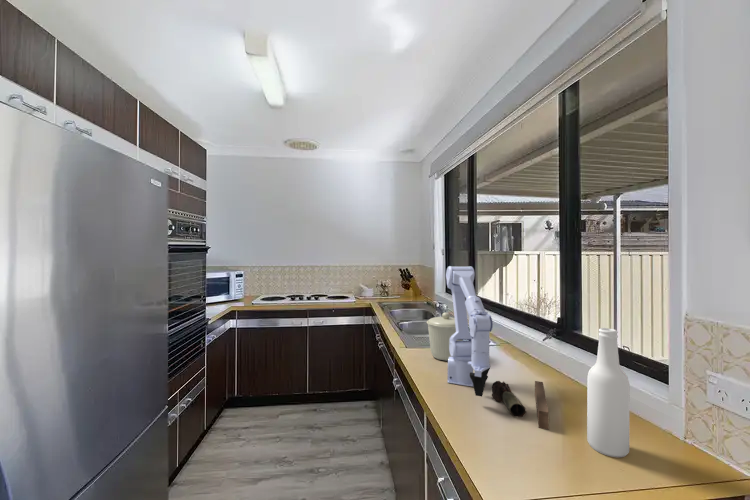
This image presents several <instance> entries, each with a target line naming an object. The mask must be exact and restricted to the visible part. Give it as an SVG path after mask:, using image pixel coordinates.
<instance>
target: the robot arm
mask: <svg viewBox="0 0 750 500" xmlns="http://www.w3.org/2000/svg"><path fill="white" fill-rule="evenodd" d="M475 275H476V274H475V269H474V267H473V266H470V265H469V266H451V265H449V266H447V268H446V272H445V278H446V286H447V289H449V290H450V291H451V295H452V304H453V306H452V307H453V314H454V317H453V318H455V327H456V332H455V333H454V334H453V335H452V336H451V337H450V339H449V340H450V344H449V351H450V355H451V356H452V357H449V359H448V361H447V381H446V383H448V384H452V385H453V384H454V385H460V386H466V387H467V386H468V387H473V389H474V395H475V396H477V397H480V398H482V397H483V394H484V390H485V387H486V383H487V381H488V379H489V374H488V373H489V371H490V369H491V364H490V332H492V330H493V328H494V321H493V317H492V315H491V314H489V313H488V311H486V309H485V306H484V305H483V302H482V299H481V298H480V297H479V296H477V295H476V289H475V286H474V282H475V281H474V280H475V278H476V277H475ZM456 340H463V341H456Z"/></svg>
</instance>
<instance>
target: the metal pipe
mask: <svg viewBox="0 0 750 500" xmlns="http://www.w3.org/2000/svg"><path fill="white" fill-rule="evenodd" d="M509 385H510V384H508V383H507V382H505V381H504V380H503V381H502V382H501V381H500V380H496V381H494V382H492V386H491V396H492V399H493V400H494V401H495V402H497V403H503V404H505V407H506V408H507V410H508V412H509V413H510V414H511V416H513V417H514V418H522V417H525V415H526V413H527V411H526V409H527V408H526V407H525V406H524V404H523V403H522V402H521V401H520V400H519V399H518V397H517V396H516V395H515V394H514V393H513V391H512V389H511V387H510V386H509Z"/></svg>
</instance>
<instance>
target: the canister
mask: <svg viewBox="0 0 750 500" xmlns="http://www.w3.org/2000/svg"><path fill="white" fill-rule="evenodd" d="M426 324H427V329H428V338H429V339H428V340H429V348H430V353H431V355H432V357H433V358H435V359H437V360H440V361H447V362H448V359H449V357H452V356H451V355H450V351H449V344H450V340H449V339H450V337H451V336H452V335H453V334H454V333H455V332H456V327H455V317H451V315H450V313H449V312H442V314H441V316H435V317H431V318H430V319H428V320H426ZM456 341H464V340H456Z"/></svg>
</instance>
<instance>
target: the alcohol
mask: <svg viewBox="0 0 750 500" xmlns="http://www.w3.org/2000/svg"><path fill="white" fill-rule="evenodd" d="M618 333H619V331H618V330H617V329H614V328H608V327H607V328H606V327H600V328H599V329H598V346H597V356H596V361H595V364H594V365H593V366H591V368H590V369H588V373H587V377H586V378H587V381H586V382H587V385H586V386H587V388H586V389H587V392H586V393H587V396H586V397H587V400H586V401H587V402H586V405H587V406H586V409H587V410H586V412H587V416H586V424H587V425H586V440H587V443H588V444H589V446H590V447H591V448H592V449H593V450H594V451H595V452H597V453H600V454H602V455H604V456H608V457H611V458H624V457H626V456H627V455H628V454H629V453H630V411H631V410H630V404H631V403H630V400H631V399H630V380H629V377H628V375H627V374H626V373H625V372H624V370H623V369H622V368H621V365H620V356H619V347H618V346H619V345H618V337H619V336H618Z"/></svg>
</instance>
